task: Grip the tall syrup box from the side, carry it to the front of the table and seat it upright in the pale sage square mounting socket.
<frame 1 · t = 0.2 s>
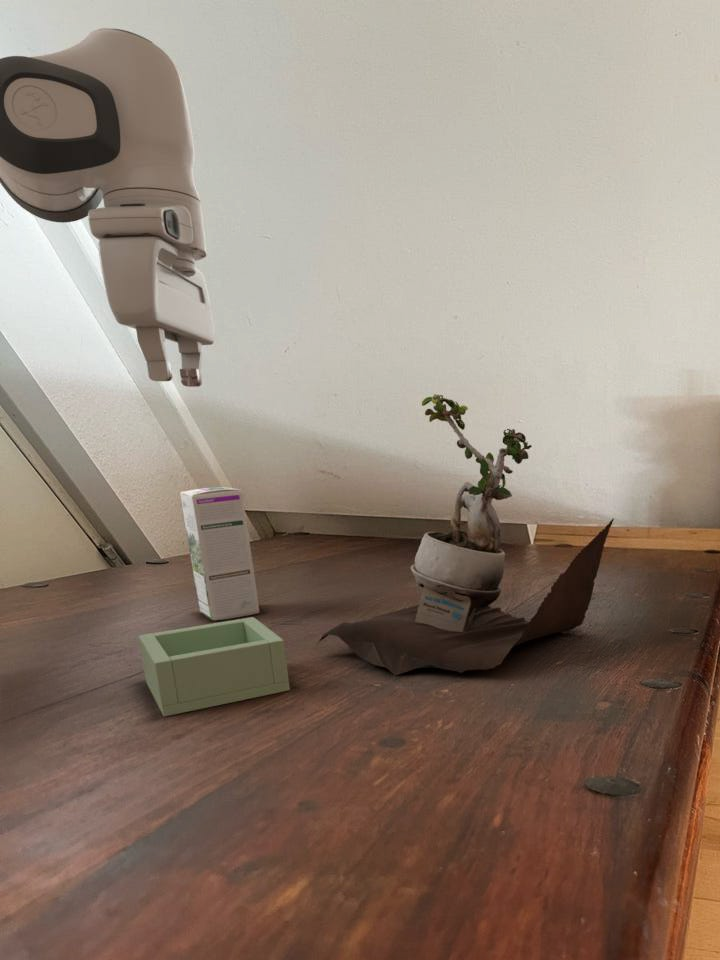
hand: (177, 384, 79), 26 cm above the table, tool pointing down, fingers open, 8 cm apart
syrup box: (229, 615, 91), on the table
potted plant: (466, 645, 74), on the table
socket: (216, 686, 65), on the table
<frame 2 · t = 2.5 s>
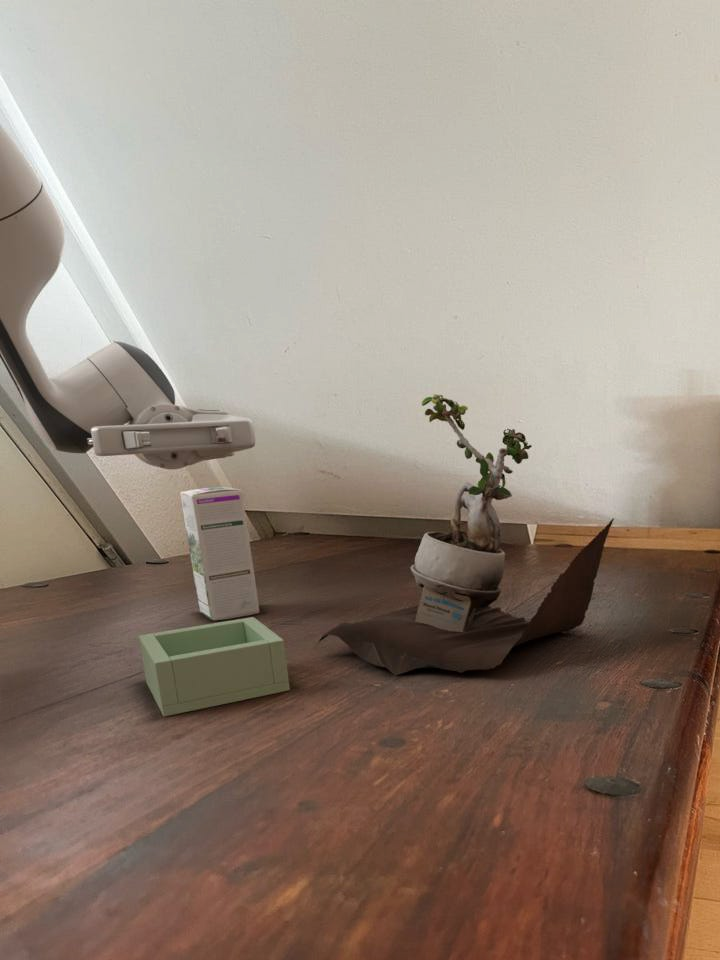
hand: (184, 437, 96), 20 cm above the table, tool horizontal, fingers open, 8 cm apart
nothing on the table moved.
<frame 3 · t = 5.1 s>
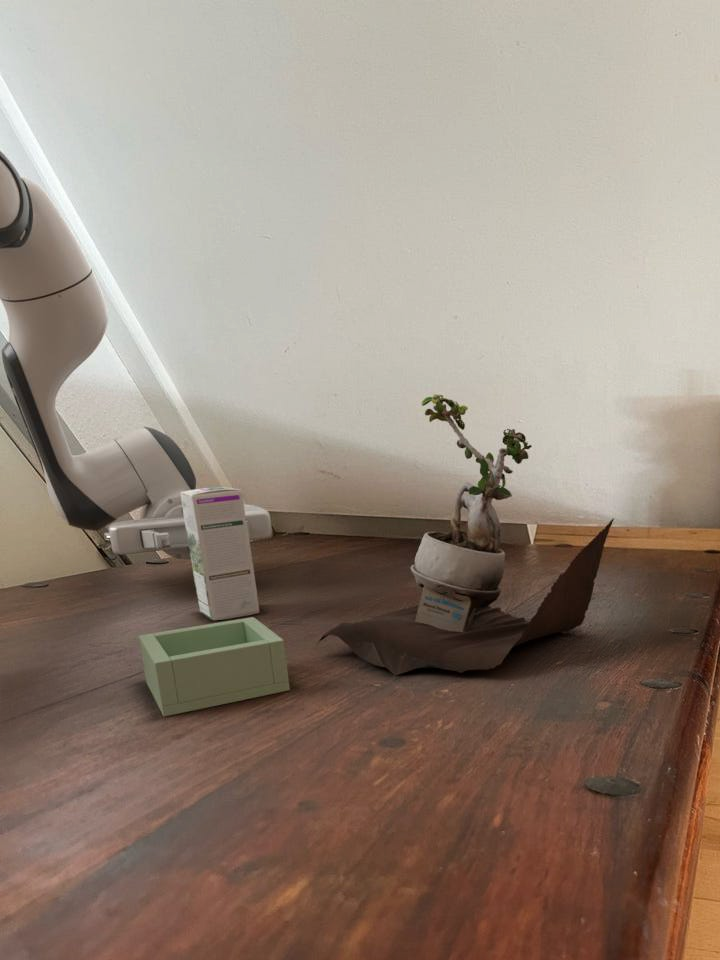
hand: (203, 536, 96), 8 cm above the table, tool horizontal, fingers open, 8 cm apart
nothing on the table moved.
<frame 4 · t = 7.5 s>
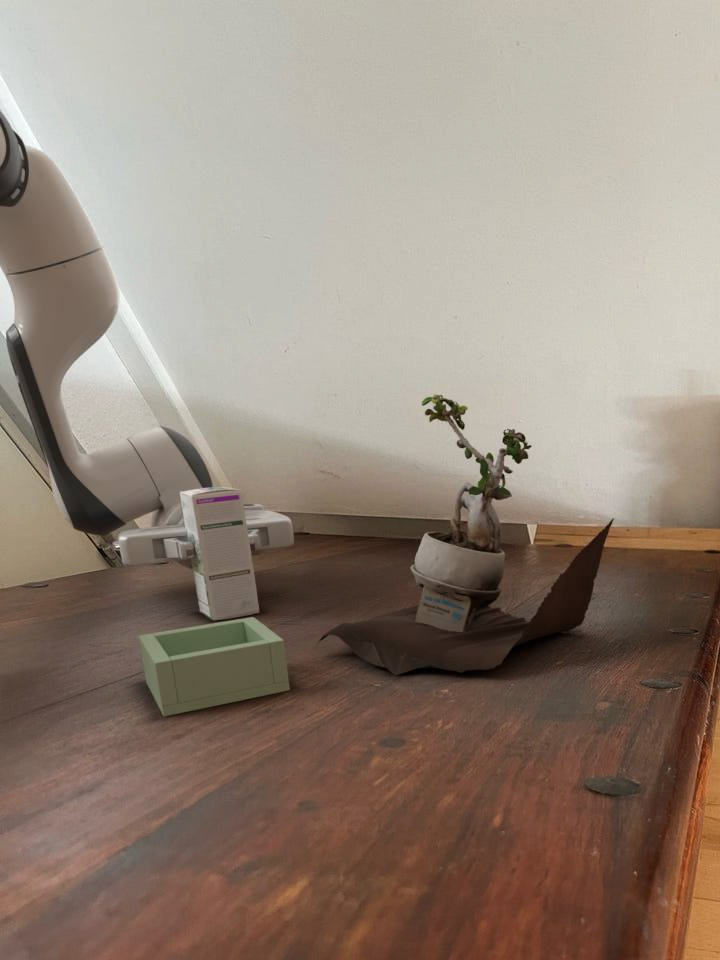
hand: (221, 546, 88), 8 cm above the table, tool horizontal, fingers closed on syrup box, 6 cm apart
syrup box: (229, 614, 91), on the table, touching gripper
everything else where it was.
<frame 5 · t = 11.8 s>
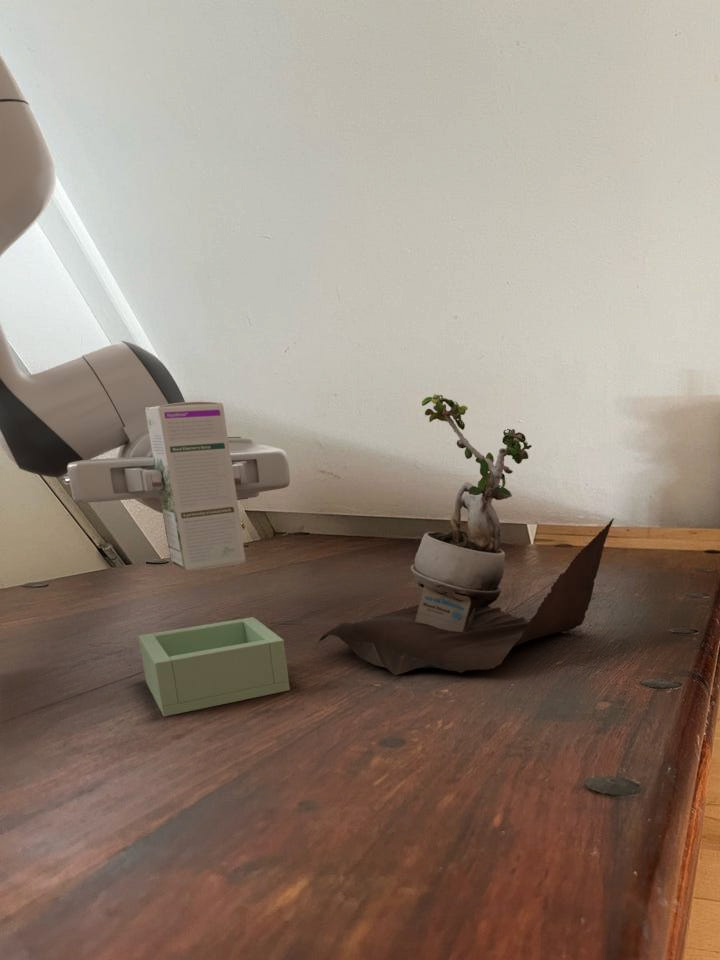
hand: (197, 477, 70), 17 cm above the table, tool horizontal, fingers closed on syrup box, 6 cm apart
syrup box: (207, 566, 73), point 9 cm above the table, touching gripper
everything else where it was.
when the fingers open (9 cm above the table, at t = 16.0 s): syrup box stays where it is, resting on socket.
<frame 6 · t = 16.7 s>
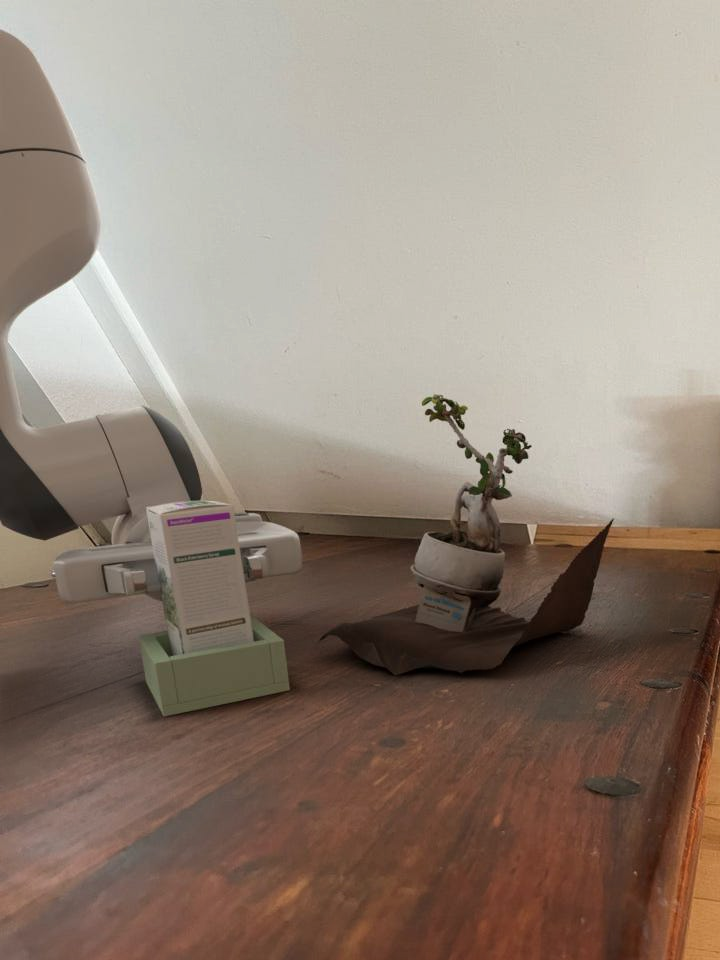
hand: (200, 575, 62), 10 cm above the table, tool horizontal, fingers open, 8 cm apart
syrup box: (216, 679, 65), point 1 cm above the table, touching socket
everything else where it was.
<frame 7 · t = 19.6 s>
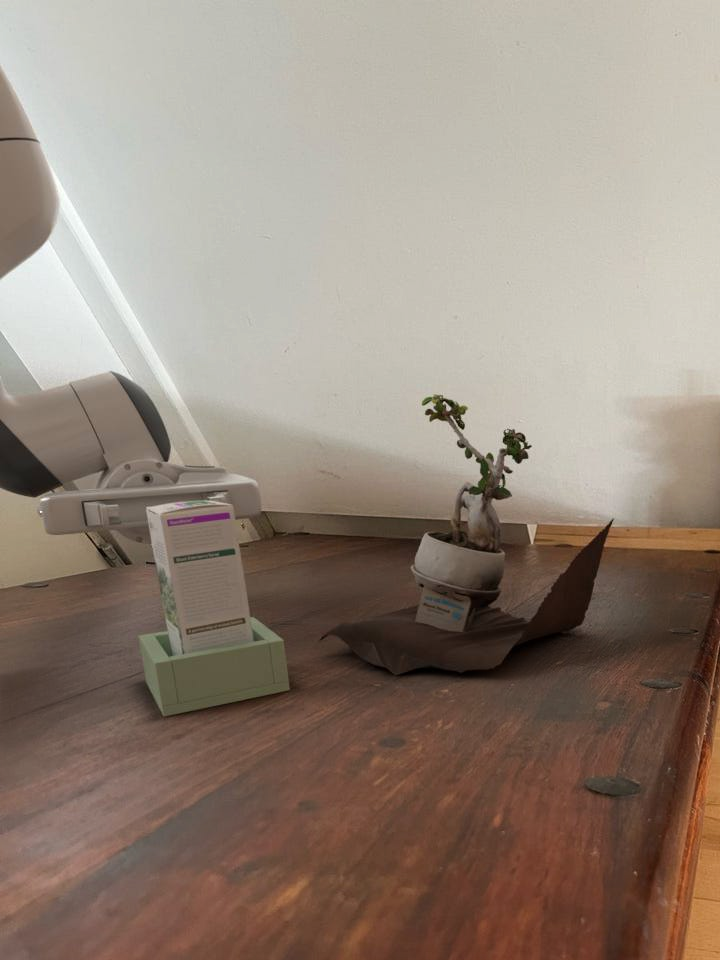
hand: (166, 511, 71), 14 cm above the table, tool horizontal, fingers open, 8 cm apart
nothing on the table moved.
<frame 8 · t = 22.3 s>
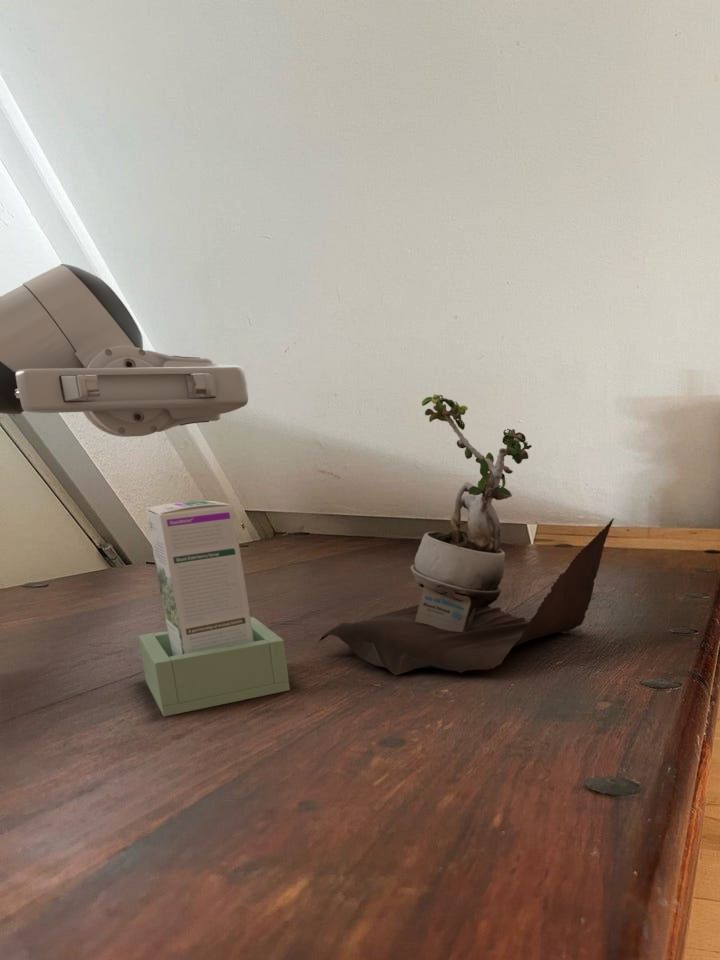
hand: (147, 384, 68), 25 cm above the table, tool horizontal, fingers open, 8 cm apart
nothing on the table moved.
at the end: syrup box 0.1 cm off-centre in the socket, point 0.6 cm above the socket's base; syrup box tilted 0°; the gripper is holding nothing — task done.
